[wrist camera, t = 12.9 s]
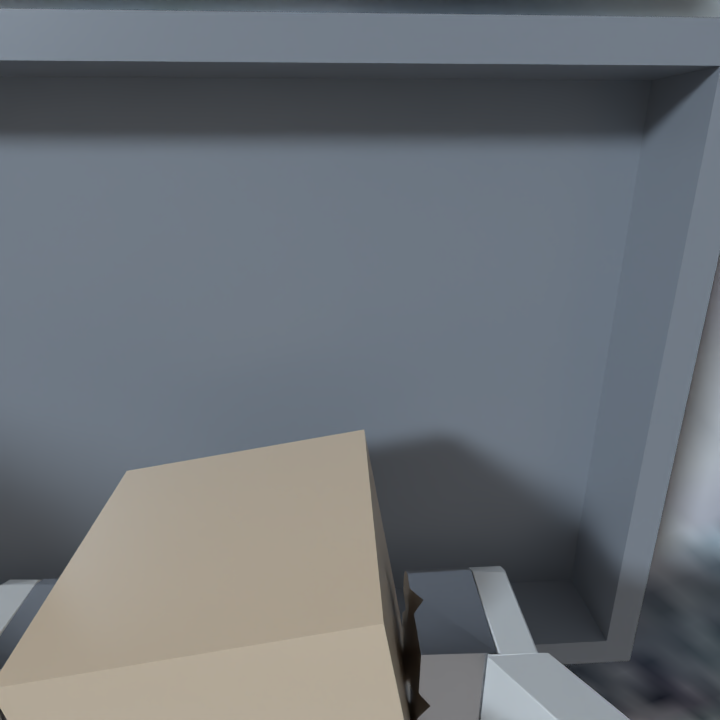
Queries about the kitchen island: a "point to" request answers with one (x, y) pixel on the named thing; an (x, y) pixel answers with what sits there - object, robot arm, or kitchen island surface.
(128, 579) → the beige cube
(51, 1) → the kitchen island surface
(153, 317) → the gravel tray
